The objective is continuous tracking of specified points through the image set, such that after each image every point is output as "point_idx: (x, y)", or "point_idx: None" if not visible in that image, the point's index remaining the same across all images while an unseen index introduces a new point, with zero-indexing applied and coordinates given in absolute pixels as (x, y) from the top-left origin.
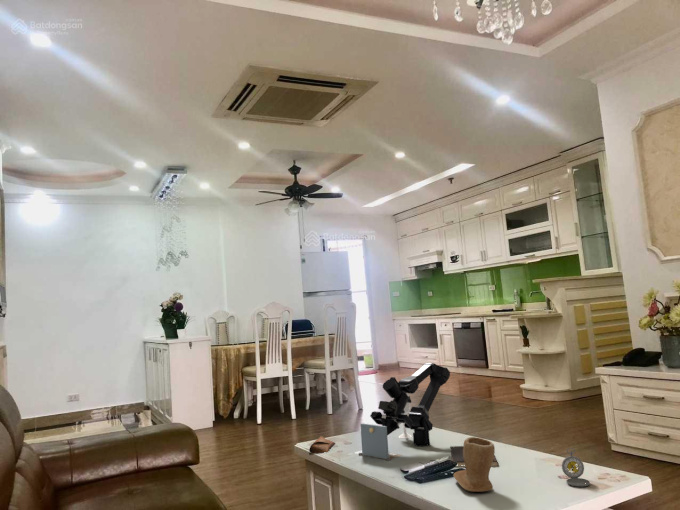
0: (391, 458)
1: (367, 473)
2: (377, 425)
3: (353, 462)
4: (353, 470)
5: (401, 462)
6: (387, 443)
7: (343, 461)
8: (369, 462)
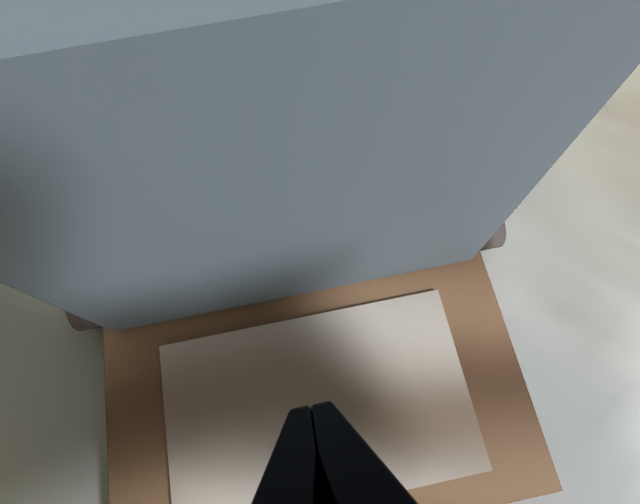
0: (117, 374)
1: None
2: (34, 17)
3: None
4: None
5: (11, 424)
6: (10, 278)
7: None
8: None
